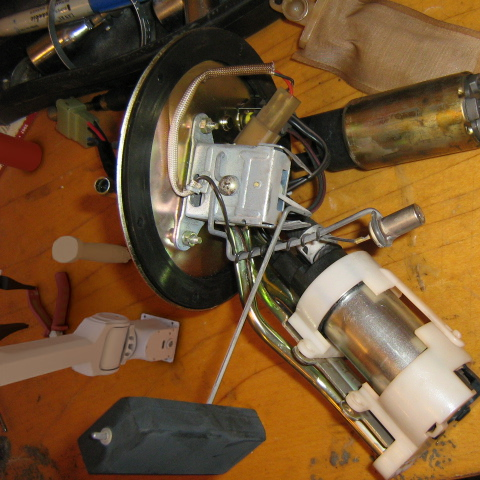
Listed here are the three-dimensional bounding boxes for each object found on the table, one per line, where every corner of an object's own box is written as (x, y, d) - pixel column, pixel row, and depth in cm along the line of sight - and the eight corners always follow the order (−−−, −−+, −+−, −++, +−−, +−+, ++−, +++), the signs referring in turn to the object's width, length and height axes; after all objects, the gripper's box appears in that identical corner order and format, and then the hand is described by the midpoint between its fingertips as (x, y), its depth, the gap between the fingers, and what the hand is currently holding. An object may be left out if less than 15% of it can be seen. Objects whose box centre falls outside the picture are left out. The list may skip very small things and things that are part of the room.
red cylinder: (44, 143, 110) (-3, 128, 100) (39, 172, 110) (-9, 160, 100) (24, 142, 113) (-24, 127, 103) (19, 170, 113) (-30, 158, 102)
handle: (115, 245, 99) (52, 237, 85) (139, 242, 96) (78, 234, 83) (115, 267, 98) (51, 263, 84) (139, 265, 96) (77, 261, 82)
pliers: (49, 373, 102) (38, 375, 100) (33, 288, 107) (22, 287, 104) (86, 357, 99) (76, 359, 96) (68, 270, 103) (57, 269, 101)
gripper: (-52, 264, 82) (22, 267, 94) (-68, 345, 81) (9, 338, 94) (-28, 270, 79) (45, 272, 92) (-44, 354, 78) (32, 345, 91)
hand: (29, 306), depth 92 cm, fingers open, 7 cm apart
